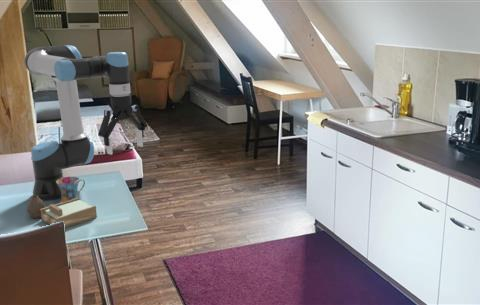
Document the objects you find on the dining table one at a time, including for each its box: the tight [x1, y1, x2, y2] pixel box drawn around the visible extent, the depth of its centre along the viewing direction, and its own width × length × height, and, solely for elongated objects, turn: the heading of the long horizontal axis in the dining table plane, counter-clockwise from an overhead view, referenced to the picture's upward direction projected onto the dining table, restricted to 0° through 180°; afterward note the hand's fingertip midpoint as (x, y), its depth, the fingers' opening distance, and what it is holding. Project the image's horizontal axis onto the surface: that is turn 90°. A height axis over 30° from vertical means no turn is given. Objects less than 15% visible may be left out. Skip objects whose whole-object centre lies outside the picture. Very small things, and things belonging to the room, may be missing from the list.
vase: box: [26, 195, 47, 220], centre depth 190 cm, size 7×7×9 cm
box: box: [40, 198, 98, 229], centre depth 188 cm, size 14×16×5 cm
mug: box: [56, 176, 86, 203], centre depth 204 cm, size 12×9×11 cm
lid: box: [45, 199, 93, 219], centre depth 188 cm, size 12×15×4 cm
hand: (125, 149), depth 183 cm, fingers open, 13 cm apart
